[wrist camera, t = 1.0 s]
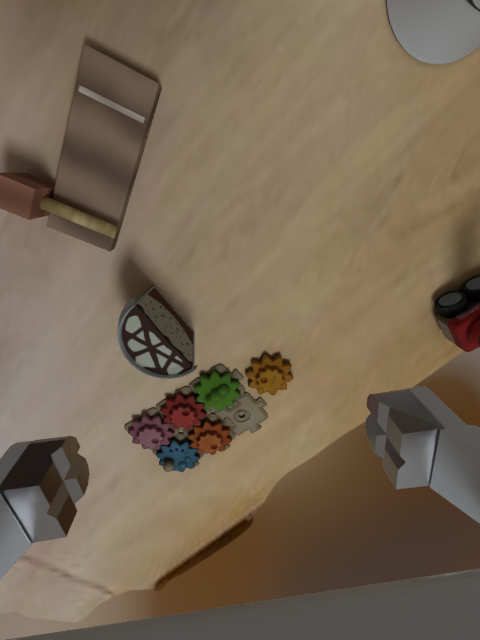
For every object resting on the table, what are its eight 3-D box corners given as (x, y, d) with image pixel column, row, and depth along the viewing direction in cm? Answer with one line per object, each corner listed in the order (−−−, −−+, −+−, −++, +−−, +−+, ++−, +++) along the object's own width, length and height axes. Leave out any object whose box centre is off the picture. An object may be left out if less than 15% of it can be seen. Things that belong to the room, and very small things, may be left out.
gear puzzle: (265, 328, 51) (269, 340, 47) (315, 393, 57) (321, 408, 53) (121, 423, 57) (114, 440, 53) (179, 473, 63) (177, 491, 59)
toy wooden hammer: (25, 172, 39) (-5, 172, 34) (126, 216, 42) (113, 222, 37) (21, 200, 41) (-10, 204, 35) (119, 240, 43) (105, 250, 38)
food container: (115, 300, 47) (90, 330, 38) (147, 277, 46) (130, 302, 37) (169, 358, 52) (159, 397, 42) (200, 338, 50) (196, 374, 41)
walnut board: (91, 50, 35) (84, 43, 33) (161, 88, 37) (158, 83, 35) (54, 223, 42) (46, 226, 40) (114, 248, 44) (109, 251, 42)
